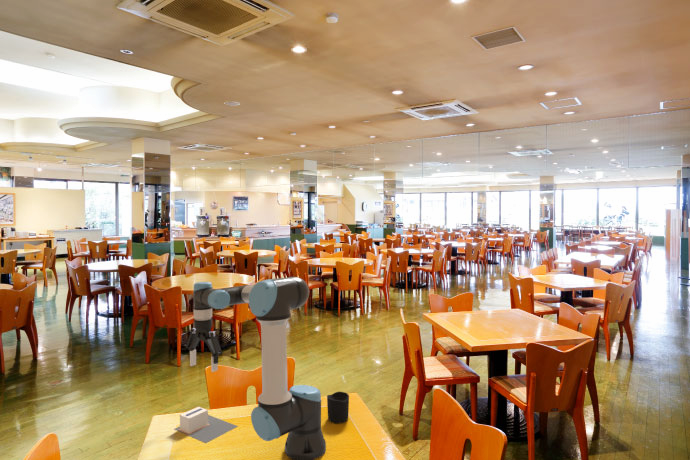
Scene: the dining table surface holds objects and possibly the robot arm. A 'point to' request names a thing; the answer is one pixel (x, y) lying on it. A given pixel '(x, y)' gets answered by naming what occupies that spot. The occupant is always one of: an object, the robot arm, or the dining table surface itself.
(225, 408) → the dining table surface
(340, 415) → the pen holder
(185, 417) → the white box
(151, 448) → the dining table surface
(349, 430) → the dining table surface
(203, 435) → the mat
